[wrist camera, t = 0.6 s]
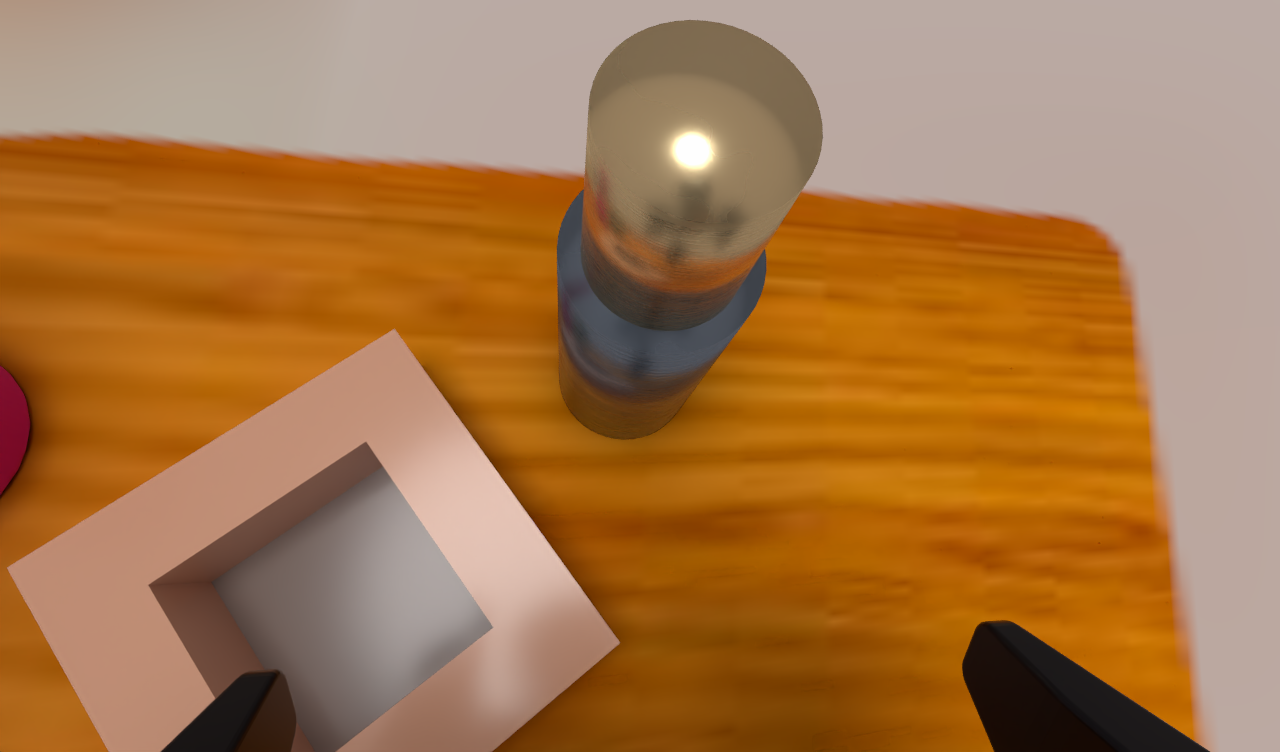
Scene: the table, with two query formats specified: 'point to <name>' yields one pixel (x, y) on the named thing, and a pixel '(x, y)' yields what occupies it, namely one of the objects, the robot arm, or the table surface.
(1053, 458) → the table surface
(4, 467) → the pepper mill
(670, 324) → the tube
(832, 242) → the table surface
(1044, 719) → the robot arm
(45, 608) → the socket block
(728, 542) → the table surface
